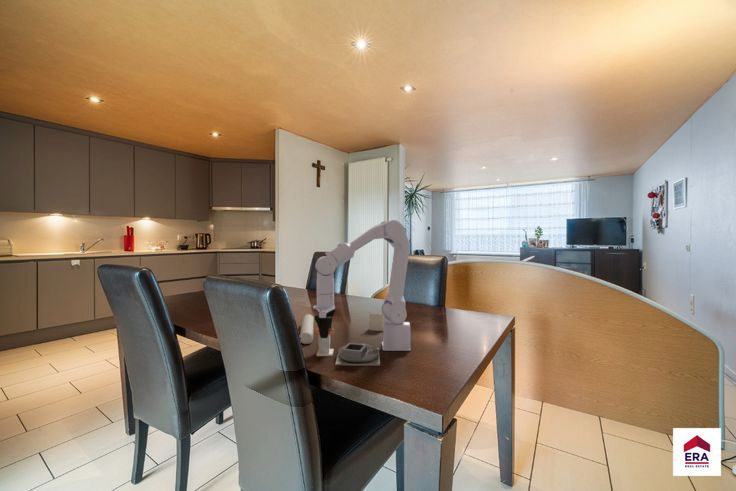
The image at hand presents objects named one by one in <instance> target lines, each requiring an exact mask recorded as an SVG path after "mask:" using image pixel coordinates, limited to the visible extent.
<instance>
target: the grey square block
mask: <svg viewBox="0 0 736 491" xmlns="http://www.w3.org/2000/svg"><path fill="white" fill-rule="evenodd" d="M383 317H384V315H383V313H379V312H378V313H375V312H374V313H372V312H369V321H368V330H369V331H378V332H383V320H384V318H383Z"/></svg>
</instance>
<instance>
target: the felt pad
mask: <svg viewBox="0 0 736 491" xmlns="http://www.w3.org/2000/svg"><path fill="white" fill-rule="evenodd" d="M334 351H335V349H334V348H330V352H329V353H319V349H318V350H317V352H316V357H333V356H334Z"/></svg>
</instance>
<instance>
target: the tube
mask: <svg viewBox="0 0 736 491" xmlns="http://www.w3.org/2000/svg"><path fill="white" fill-rule="evenodd" d="M314 317H315V316H313V315H312V314H310V313H306V314H304V315H303V316H302V318H301V327H300V334H299V339H300V338H301V342H300V343H301V344H304V345H310V344H311V343H312V342H313V340H314V323H315V319H314Z"/></svg>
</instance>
